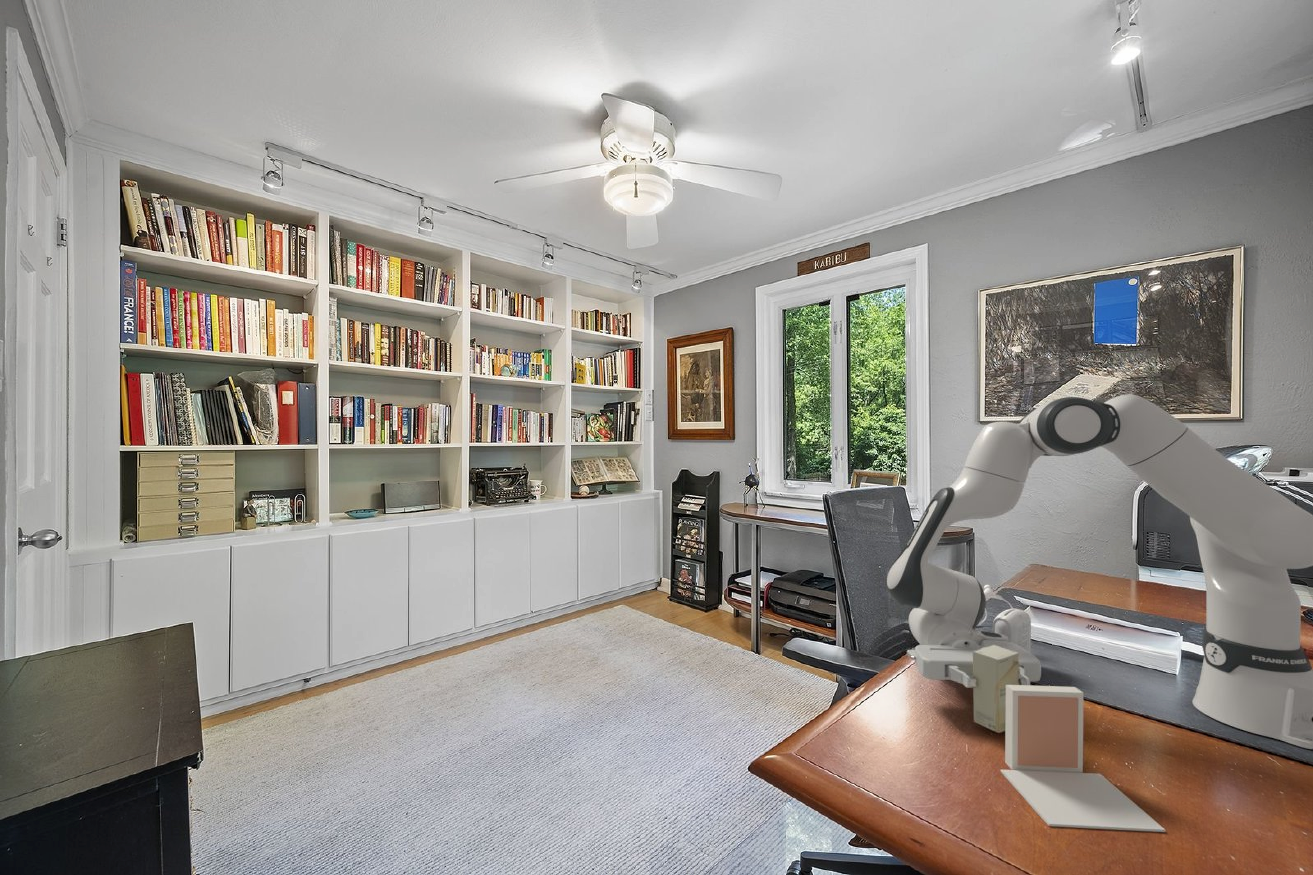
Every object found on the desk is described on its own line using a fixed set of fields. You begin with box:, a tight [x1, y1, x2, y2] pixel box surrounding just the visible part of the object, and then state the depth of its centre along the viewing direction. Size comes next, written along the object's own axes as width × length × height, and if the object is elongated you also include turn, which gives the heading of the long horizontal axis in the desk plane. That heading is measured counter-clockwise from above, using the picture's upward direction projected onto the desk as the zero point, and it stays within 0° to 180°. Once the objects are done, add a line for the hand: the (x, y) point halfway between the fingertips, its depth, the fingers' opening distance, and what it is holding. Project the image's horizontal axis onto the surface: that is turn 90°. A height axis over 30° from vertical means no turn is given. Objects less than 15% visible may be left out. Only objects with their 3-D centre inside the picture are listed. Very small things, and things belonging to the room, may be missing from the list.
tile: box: [1004, 684, 1084, 773], centre depth 80 cm, size 10×2×12 cm, turn 86°
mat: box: [999, 769, 1166, 833], centre depth 74 cm, size 14×11×1 cm
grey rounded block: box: [992, 607, 1032, 654], centre depth 114 cm, size 10×4×12 cm, turn 123°
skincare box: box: [972, 645, 1019, 734], centre depth 90 cm, size 6×4×12 cm
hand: (998, 684), depth 90 cm, fingers closed on skincare box, 7 cm apart
